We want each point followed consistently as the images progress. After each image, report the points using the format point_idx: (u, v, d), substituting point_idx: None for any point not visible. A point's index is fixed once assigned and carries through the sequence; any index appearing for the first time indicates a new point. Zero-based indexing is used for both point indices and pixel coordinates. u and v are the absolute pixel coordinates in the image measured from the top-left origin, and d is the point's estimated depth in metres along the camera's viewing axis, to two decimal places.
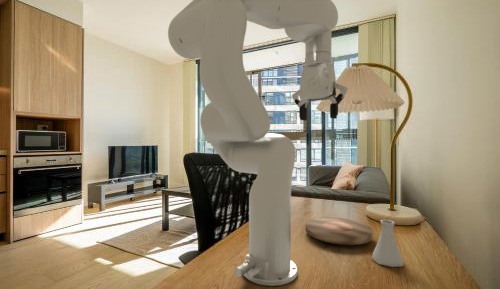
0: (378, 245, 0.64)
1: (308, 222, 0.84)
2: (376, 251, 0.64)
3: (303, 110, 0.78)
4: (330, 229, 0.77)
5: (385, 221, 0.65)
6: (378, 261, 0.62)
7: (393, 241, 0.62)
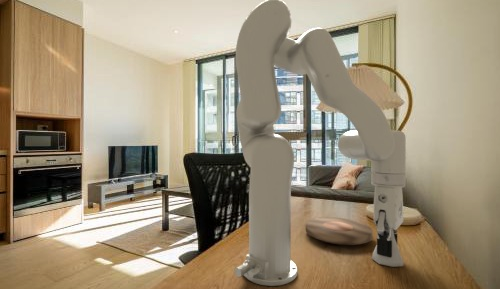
0: None
1: (308, 222, 0.84)
2: (376, 251, 0.64)
3: None
4: (330, 229, 0.77)
5: None
6: (378, 261, 0.62)
7: (393, 241, 0.62)
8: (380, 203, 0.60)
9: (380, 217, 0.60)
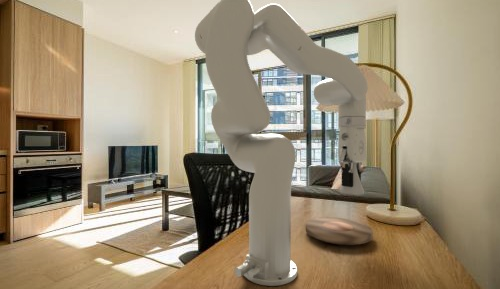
0: None
1: (308, 222, 0.84)
2: None
3: None
4: (330, 229, 0.77)
5: None
6: (342, 191, 0.73)
7: (355, 174, 0.73)
8: (343, 141, 0.71)
9: (342, 152, 0.71)
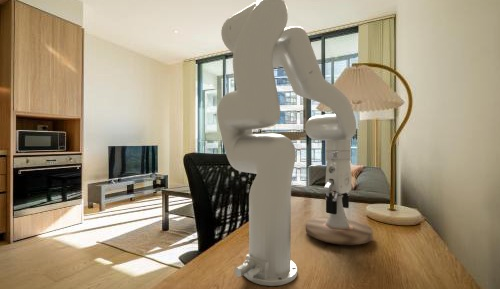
0: None
1: (308, 222, 0.84)
2: (328, 218, 0.80)
3: None
4: (330, 229, 0.77)
5: None
6: (329, 226, 0.78)
7: (341, 210, 0.78)
8: (330, 174, 0.77)
9: (329, 181, 0.76)
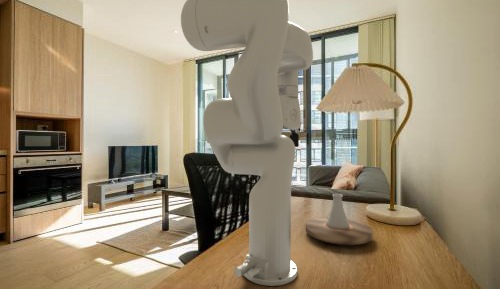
0: (330, 213, 0.80)
1: (308, 222, 0.84)
2: (328, 218, 0.80)
3: None
4: (330, 229, 0.77)
5: (336, 195, 0.81)
6: (329, 226, 0.78)
7: (341, 210, 0.78)
8: None
9: None
